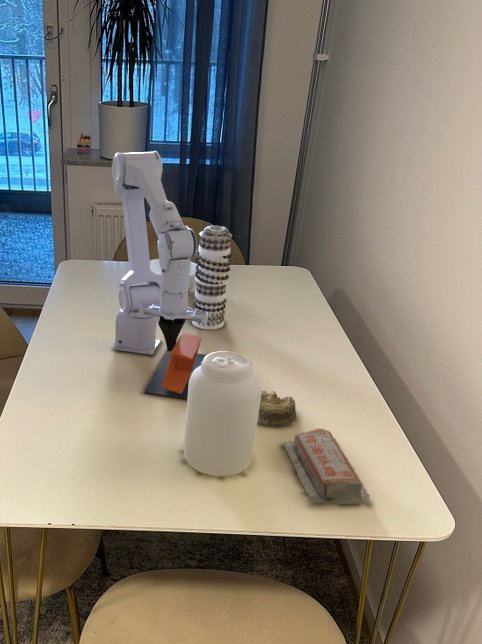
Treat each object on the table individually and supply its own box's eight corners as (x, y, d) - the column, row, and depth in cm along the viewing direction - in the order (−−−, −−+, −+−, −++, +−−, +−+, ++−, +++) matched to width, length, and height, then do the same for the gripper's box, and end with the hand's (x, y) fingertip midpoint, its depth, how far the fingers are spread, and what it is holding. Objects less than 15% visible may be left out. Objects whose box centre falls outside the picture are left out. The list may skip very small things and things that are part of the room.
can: (202, 485, 111) (212, 382, 101) (171, 446, 121) (177, 349, 110) (264, 469, 116) (280, 370, 105) (229, 433, 125) (240, 339, 115)
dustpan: (161, 387, 138) (171, 351, 133) (178, 354, 152) (188, 320, 147) (181, 394, 137) (192, 358, 132) (196, 360, 151) (207, 327, 146)
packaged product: (376, 481, 106) (316, 483, 105) (369, 505, 108) (311, 507, 107) (338, 423, 121) (286, 424, 120) (333, 444, 123) (282, 446, 122)
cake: (293, 432, 127) (296, 410, 124) (242, 424, 130) (245, 402, 127) (298, 405, 135) (302, 383, 132) (251, 397, 138) (253, 376, 134)
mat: (144, 393, 138) (144, 391, 138) (168, 350, 156) (168, 349, 156) (227, 406, 134) (228, 405, 134) (242, 361, 152) (242, 360, 152)
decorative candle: (216, 314, 176) (225, 222, 163) (230, 328, 169) (241, 232, 156) (185, 317, 174) (192, 224, 161) (198, 331, 166) (206, 234, 153)
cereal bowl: (200, 301, 185) (202, 277, 181) (142, 299, 185) (143, 275, 181) (197, 280, 199) (199, 258, 195) (143, 278, 199) (144, 256, 195)
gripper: (135, 291, 131) (133, 352, 138) (205, 300, 128) (200, 362, 135) (144, 280, 137) (142, 339, 144) (212, 288, 134) (206, 348, 141)
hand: (171, 349), depth 140 cm, fingers closed
